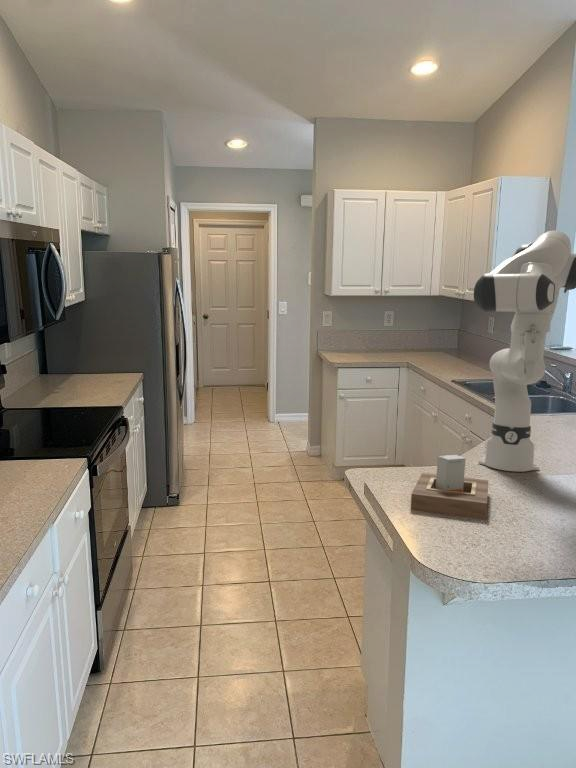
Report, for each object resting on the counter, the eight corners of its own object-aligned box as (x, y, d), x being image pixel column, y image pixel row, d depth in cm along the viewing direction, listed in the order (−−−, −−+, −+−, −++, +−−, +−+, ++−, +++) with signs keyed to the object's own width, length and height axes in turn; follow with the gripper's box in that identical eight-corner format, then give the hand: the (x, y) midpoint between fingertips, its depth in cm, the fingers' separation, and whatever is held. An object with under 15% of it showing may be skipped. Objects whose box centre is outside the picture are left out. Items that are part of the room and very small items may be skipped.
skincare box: (444, 504, 150) (446, 459, 148) (434, 499, 154) (436, 455, 152) (463, 502, 152) (466, 458, 151) (453, 497, 156) (455, 454, 155)
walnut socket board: (421, 486, 166) (422, 471, 165) (487, 494, 160) (488, 479, 159) (410, 509, 145) (411, 492, 145) (485, 519, 139) (487, 502, 139)
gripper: (548, 325, 143) (544, 380, 144) (542, 325, 162) (538, 374, 164) (521, 324, 145) (517, 379, 147) (518, 324, 164) (514, 373, 166)
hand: (528, 376), depth 155 cm, fingers open, 8 cm apart
